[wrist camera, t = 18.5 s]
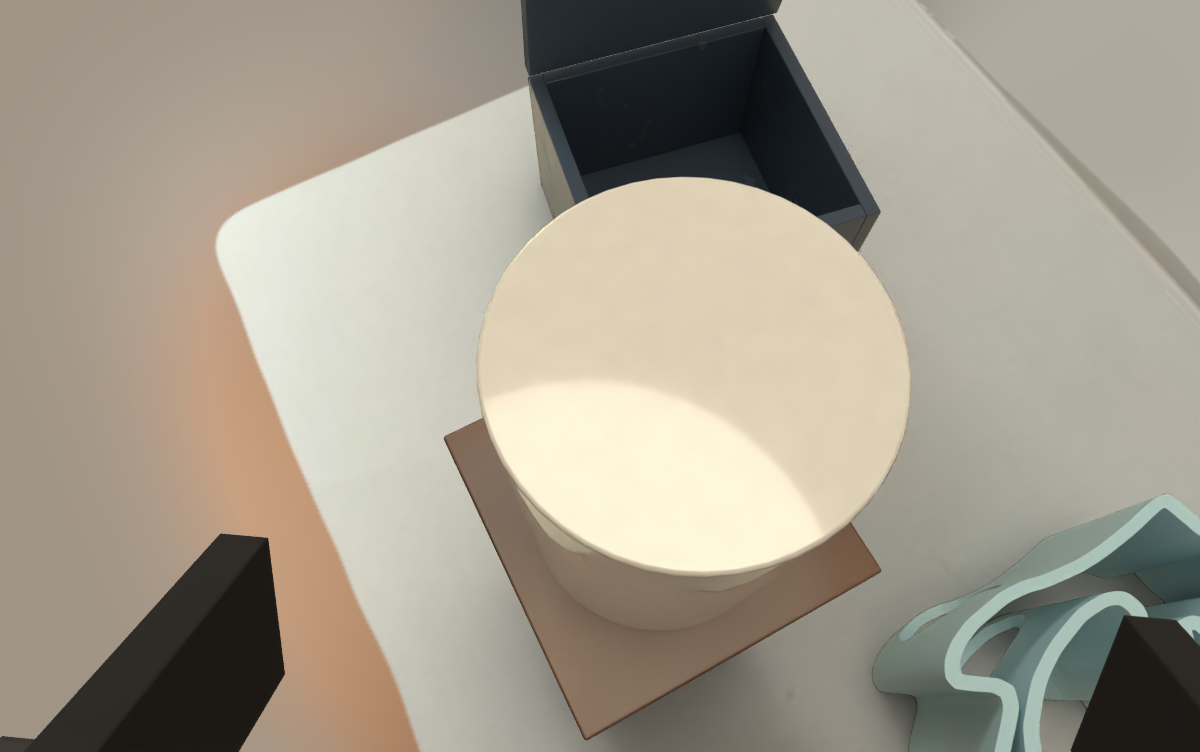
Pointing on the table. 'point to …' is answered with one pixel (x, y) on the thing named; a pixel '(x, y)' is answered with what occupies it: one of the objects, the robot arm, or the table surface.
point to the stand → (625, 655)
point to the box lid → (620, 26)
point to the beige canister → (689, 394)
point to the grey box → (698, 125)
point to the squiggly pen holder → (1041, 630)
